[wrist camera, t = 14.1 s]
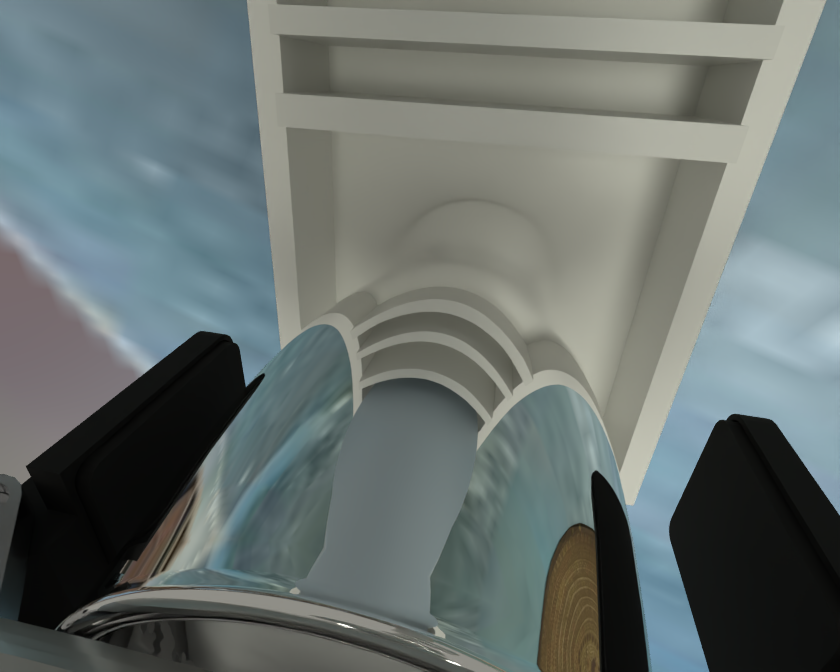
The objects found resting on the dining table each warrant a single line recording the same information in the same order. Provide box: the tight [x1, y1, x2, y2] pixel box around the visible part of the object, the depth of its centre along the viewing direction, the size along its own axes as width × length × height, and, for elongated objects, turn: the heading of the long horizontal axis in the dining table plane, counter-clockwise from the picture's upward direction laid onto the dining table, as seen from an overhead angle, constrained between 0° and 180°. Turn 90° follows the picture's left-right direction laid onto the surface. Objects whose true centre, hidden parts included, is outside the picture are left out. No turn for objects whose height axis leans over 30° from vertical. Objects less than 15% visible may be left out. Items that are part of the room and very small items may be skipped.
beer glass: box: [54, 200, 652, 672], centre depth 11 cm, size 7×7×15 cm
